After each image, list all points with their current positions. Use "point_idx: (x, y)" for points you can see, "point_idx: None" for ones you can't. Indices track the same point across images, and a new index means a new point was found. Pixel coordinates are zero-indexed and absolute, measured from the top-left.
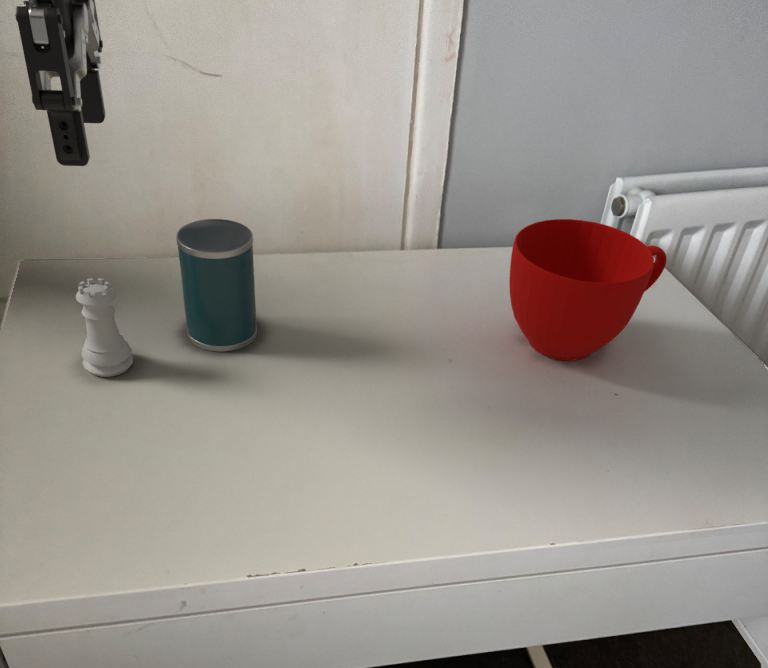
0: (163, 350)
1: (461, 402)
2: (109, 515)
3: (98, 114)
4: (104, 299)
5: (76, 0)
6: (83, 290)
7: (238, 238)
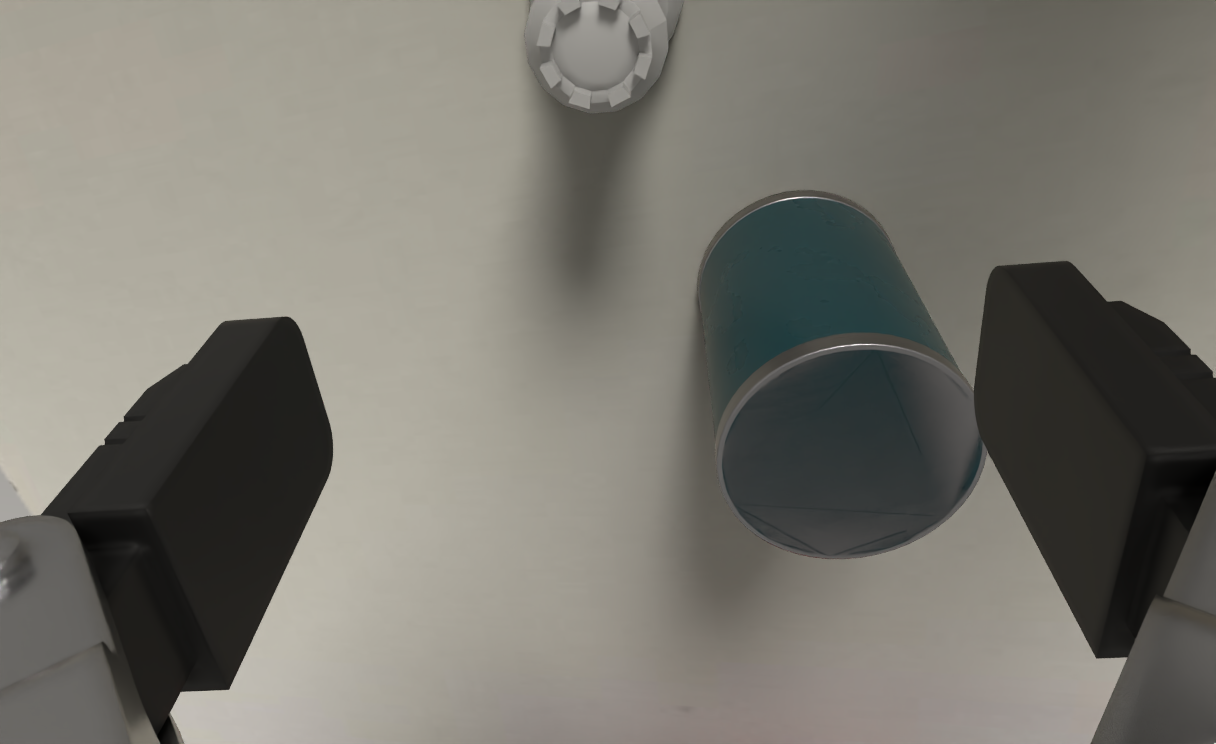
0: (700, 136)
1: (543, 713)
2: (4, 132)
3: (993, 420)
4: (553, 89)
5: None
6: (582, 6)
7: (823, 525)
